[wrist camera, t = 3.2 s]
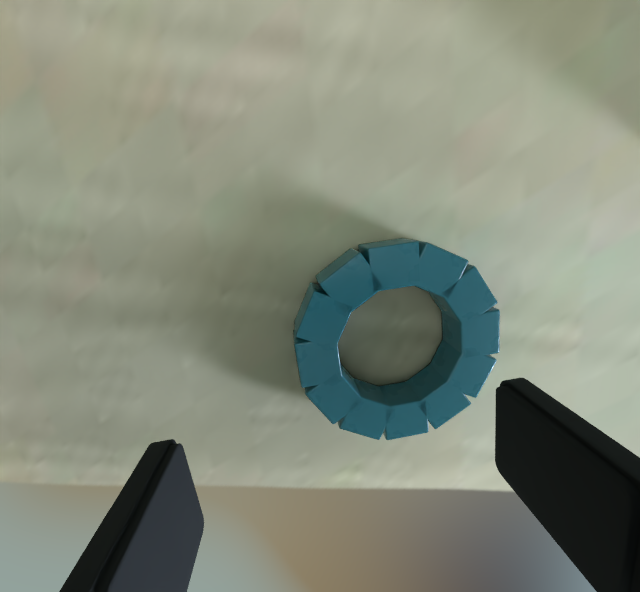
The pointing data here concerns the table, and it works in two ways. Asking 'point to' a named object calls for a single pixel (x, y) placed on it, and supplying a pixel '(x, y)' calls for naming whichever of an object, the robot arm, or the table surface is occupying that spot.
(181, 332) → the table surface
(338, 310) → the ring
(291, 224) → the table surface
